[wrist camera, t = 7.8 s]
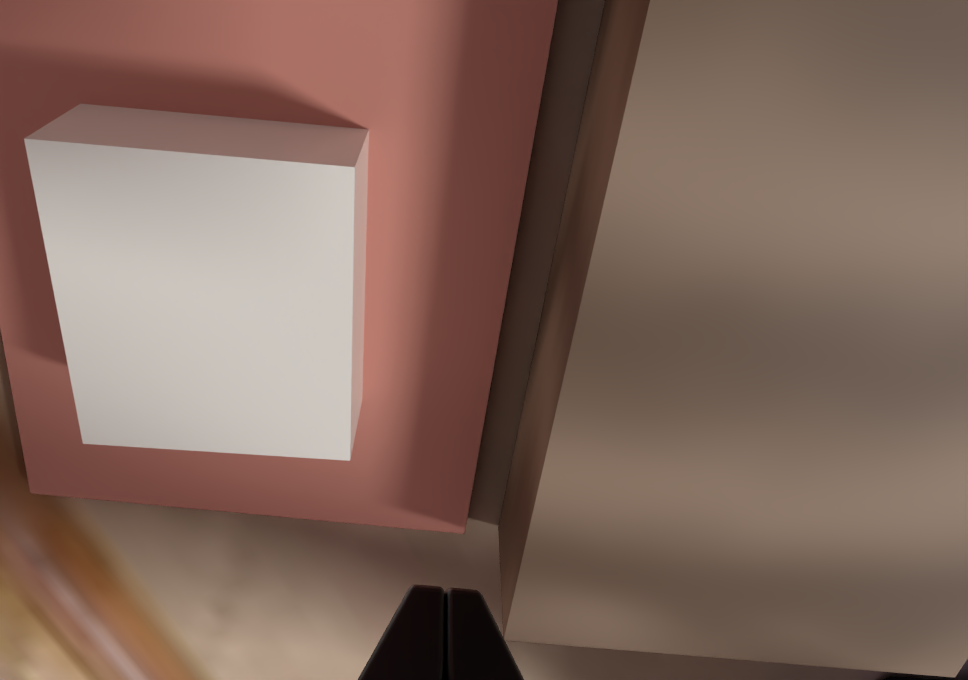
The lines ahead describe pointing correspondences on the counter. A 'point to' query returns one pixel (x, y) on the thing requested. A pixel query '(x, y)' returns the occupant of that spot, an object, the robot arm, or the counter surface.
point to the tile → (207, 277)
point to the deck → (755, 344)
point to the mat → (389, 235)
